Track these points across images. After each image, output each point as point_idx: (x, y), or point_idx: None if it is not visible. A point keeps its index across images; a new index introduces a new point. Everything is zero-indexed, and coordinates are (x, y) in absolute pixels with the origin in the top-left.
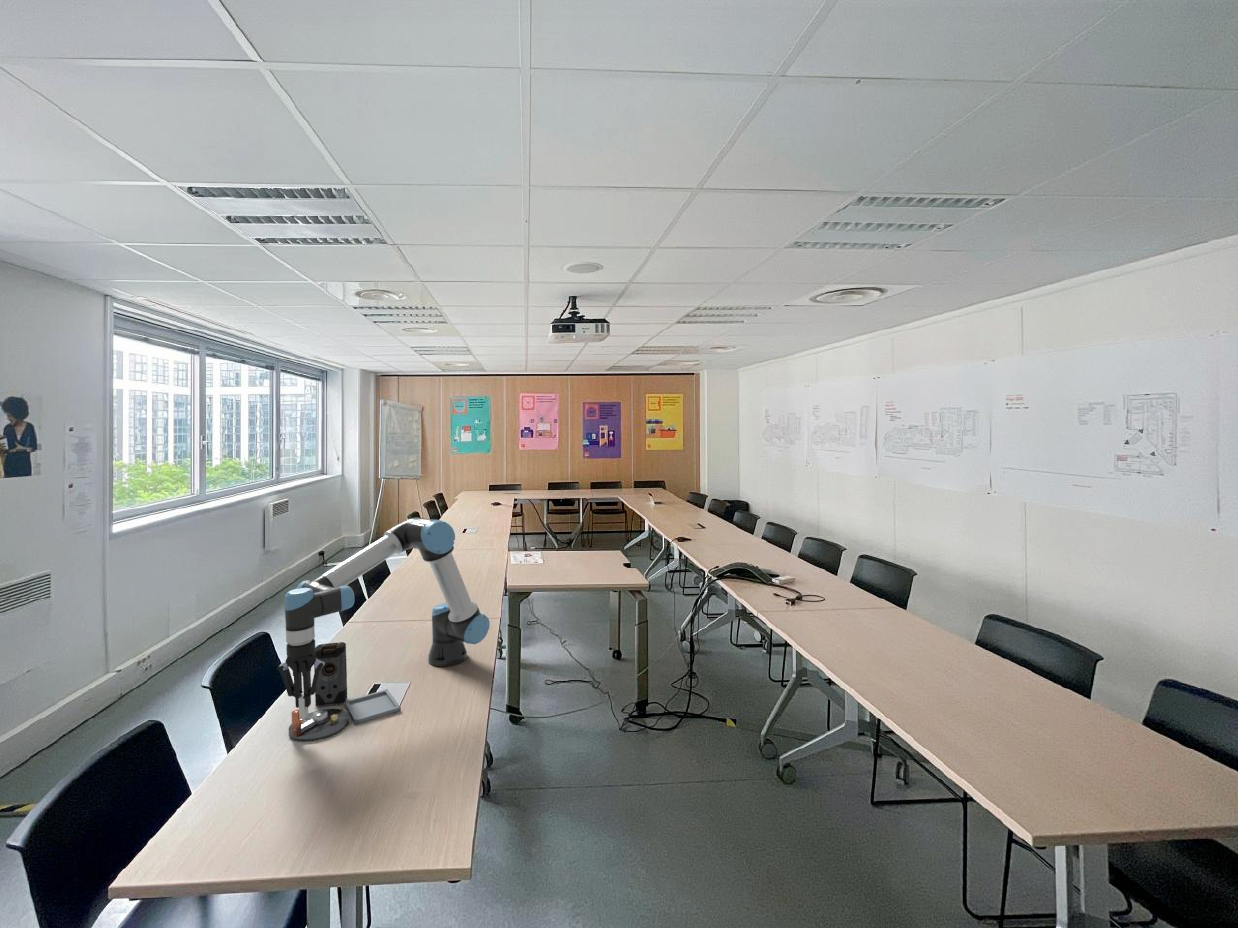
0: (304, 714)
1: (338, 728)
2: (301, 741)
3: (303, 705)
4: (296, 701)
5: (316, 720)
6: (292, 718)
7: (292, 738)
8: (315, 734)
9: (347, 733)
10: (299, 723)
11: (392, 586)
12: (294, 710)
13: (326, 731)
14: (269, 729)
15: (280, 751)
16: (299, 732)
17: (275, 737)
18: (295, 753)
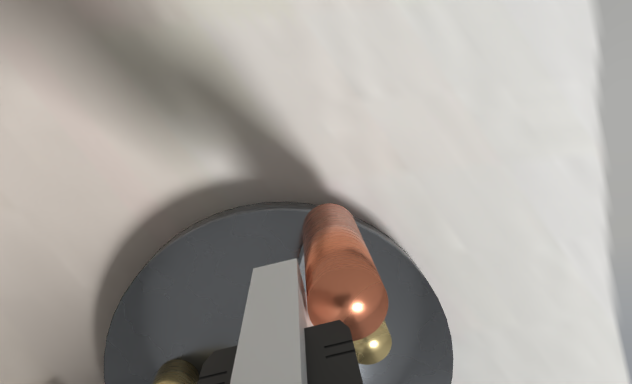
0: (249, 288)
1: (109, 328)
2: (284, 202)
3: (245, 337)
4: (344, 365)
5: None
6: (355, 250)
7: (357, 219)
8: (209, 247)
9: (63, 315)
10: (305, 253)
11: None
12: (380, 324)
13: (160, 286)
14: (566, 303)
15: (346, 91)
16: (304, 228)
17: (477, 231)
18: (233, 79)
